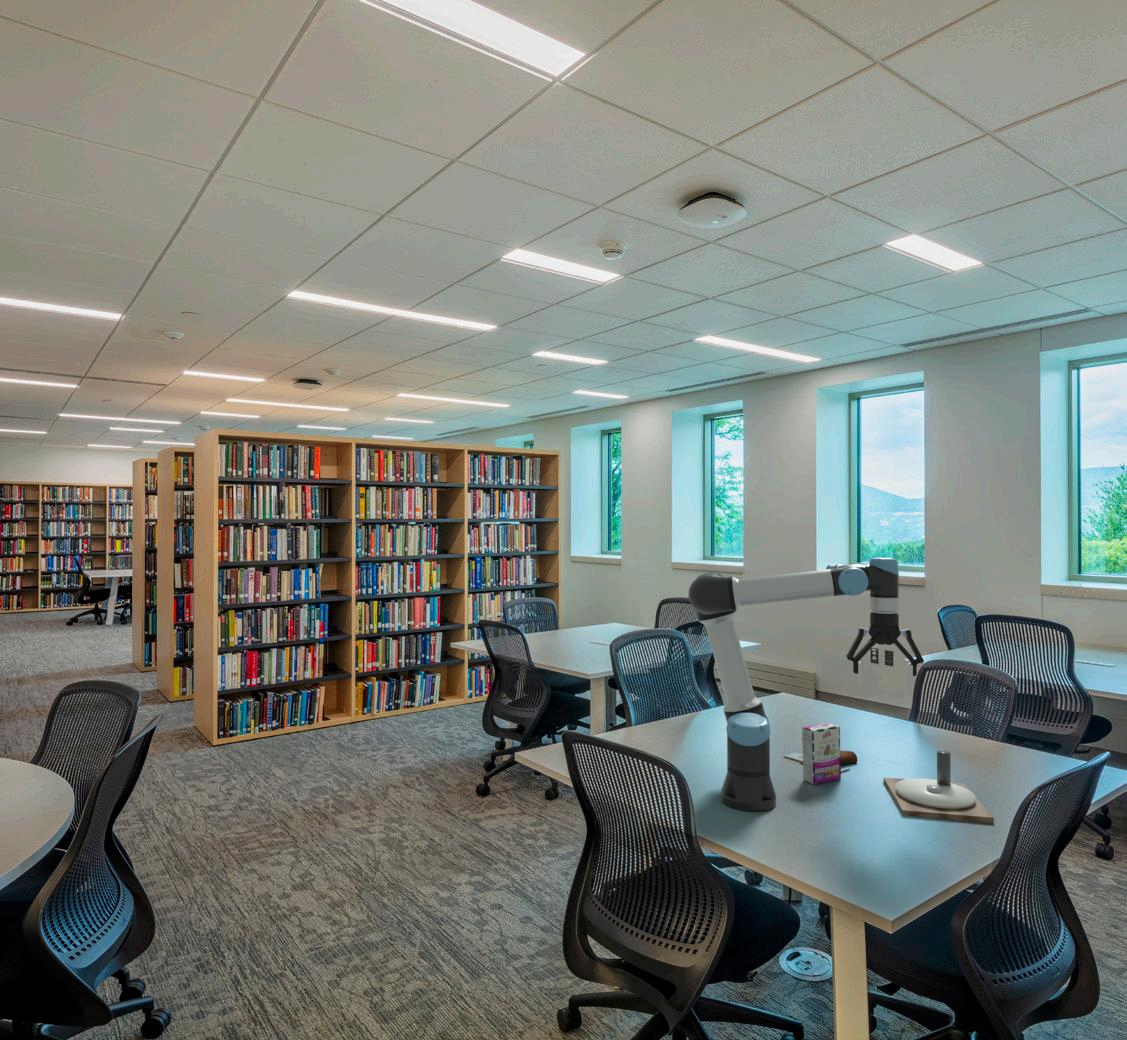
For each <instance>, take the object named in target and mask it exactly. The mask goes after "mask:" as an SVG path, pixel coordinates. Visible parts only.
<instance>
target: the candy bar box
mask: <svg viewBox="0 0 1127 1040" xmlns="http://www.w3.org/2000/svg"><path fill="white" fill-rule="evenodd" d="M801 730H802V732H801V733H802V738H801V739H802V762H803V765H802V777H803V778H802V780H803V781H804V782H806V783H809V784H810V785H811V784H812V785H814V786H816V785H820V784H824V783H831V782H834V781H838V780H842V770H841V769H842V767H841V766H842V764H841V761H840V751H841V725H837V724H834V723H831V722H824V723H819V724H815V725H814V724H813V725H807V726H802V728H801Z"/></svg>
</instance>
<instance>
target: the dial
mask: <svg viewBox="0 0 1127 1040" xmlns="http://www.w3.org/2000/svg"><path fill="white" fill-rule="evenodd" d="M951 759H952V757H951V752H950V751H946V750H937V751H936V779H932V778H919V777H918V778H904V779H905V780H901V781H899V782H897V783H896V792H897V794H898V795H900V796H901V797H903V798H905V799H907V800H909V801H912V802H915V803H918V804H921V805H925V806H930V807H936V808H946V809H960V808H967V807H970V806H972V805H974V804H975V797H976V794H975V793H973V792H972V790H970V789H969V788H968V789H969V790H968V789H966V788H964V787H962V786H959V785H956V784H953V783H954V782H952V781H951V777H952V776H951V774H952V773H951V770H952V769H951V767H952V766H951ZM951 782H952V783H951Z"/></svg>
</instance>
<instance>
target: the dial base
mask: <svg viewBox="0 0 1127 1040" xmlns="http://www.w3.org/2000/svg"><path fill="white" fill-rule="evenodd" d="M905 779H906V778H894V777H883V784H884V786H885V788H886V790H887V791H888V792H889V795H890V796H891V798H892V799H893V801H894V804H895V805H896V807H897V809H898V810H899V812H900V814H901V816H903V817H913V818H914V817H915V818H926V819H936V820H937V819H938V820H939V819H940V820H949V821H960V822H974V823H975V822H976V823H983V824H984V823H986V824H994V822H995V821H994V820H995V819H994V817H993V815H992V814H991V813H990V811H988V809H986V807H985V806H984V805H983V804H982V803H981V802H980V800H979V799H978V798H977V797H976V796H975V804H974V805H972V806H970V807H967V808H960V809H946V808H936V807H930V806H925V805H921V804H918V803H915V802H912V801H909V800H907V799H905V798H903V797H901V796H900V795H898V794H897V792H896V783H897V782H899V781H901V780H905ZM951 783H953V784H956V785H959V786H962V787H964V788H966V789H968V790H970V789H969V787H967V786H966V784H965V783H961V782H952V781H951Z"/></svg>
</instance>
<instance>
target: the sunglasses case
mask: <svg viewBox="0 0 1127 1040" xmlns="http://www.w3.org/2000/svg"><path fill="white" fill-rule="evenodd" d="M840 761H841V765H843V764H844V765H845V764H849V763H858V756H857V754H856V753H855V752H854V751H852V750H840ZM799 765H802V766H803V761H801V762H800V763H799Z"/></svg>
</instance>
